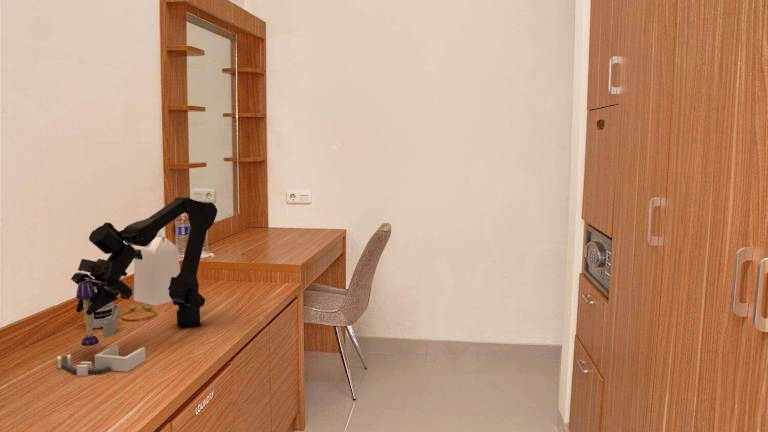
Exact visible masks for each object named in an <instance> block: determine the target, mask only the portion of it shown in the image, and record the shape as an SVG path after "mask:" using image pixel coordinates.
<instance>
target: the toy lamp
mask: <svg viewBox="0 0 768 432" xmlns="http://www.w3.org/2000/svg"><path fill="white" fill-rule="evenodd" d="M75 296H76V299H78V300H79V299H83V303H84V304H83V307H84V310H83V318H84V325H85V327H84V328H85V331H86V332H85V337H83V338H82V340H81V342H80V343H81V346H83V347H88V346H89V347H92V346H94V345H95V346H96V345H97V344H99V343H100V340H99V337H98V336H95V335H94V331H93V327H92V320H91V318H92V316H91V315H88V314H86V312H87V310H88V308H89V306H90V298H93V297H95V296H96V293H95V290H94V287H93V285H92V283H91V281H82V282H79V284H77V291H76V295H75ZM84 314H85V315H84Z"/></svg>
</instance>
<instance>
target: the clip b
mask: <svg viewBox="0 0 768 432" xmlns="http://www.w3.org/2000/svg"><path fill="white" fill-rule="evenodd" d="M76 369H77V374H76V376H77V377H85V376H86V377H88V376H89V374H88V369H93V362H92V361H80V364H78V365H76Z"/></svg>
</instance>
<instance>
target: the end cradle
mask: <svg viewBox="0 0 768 432" xmlns="http://www.w3.org/2000/svg"><path fill="white" fill-rule="evenodd" d="M145 361H147V360H146V347H140V348H138V349H136V350H134V351H133V352H131V353H129V354H127V355H126V356H120V354H119V344H114V345H112V346H110V347H108V348H105V350H102V351H101V352H99V353H97V354H95V355H94V369H101V368H105V367H110V369H111V371H114V372H121V373H122V372H124V373H128V372H130V371H131V370H133V369H134V368H136V367H137V366H139V365H141V364H142V363H144V362H145Z"/></svg>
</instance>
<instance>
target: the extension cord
mask: <svg viewBox="0 0 768 432" xmlns="http://www.w3.org/2000/svg"><path fill="white" fill-rule="evenodd" d="M136 308H137V307H136V304H133V303H132V304H130V306H129V311H127V312H124V313H122V314H119V317H120V319H121V320H122V321H125V320H126V321H125V322H141V321H140V320H142V321H146V319H147V320H150V319H152V318H155V317H157V316H158V312H157V311H155V310H154V309H152V306H151V305H150V304H146V303H143V305H142V306H141V309H142V310H136ZM137 311H139V312H140V311H142V312H143V313H144V312H149V313H150V312H151V313H154V314H152V315H150V316H146V317H145V316H144V317H141V318H125V317H122V316H124V315H126V314H130V313H135V312H137ZM139 312H138V313H139ZM140 313H141V312H140Z"/></svg>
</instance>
